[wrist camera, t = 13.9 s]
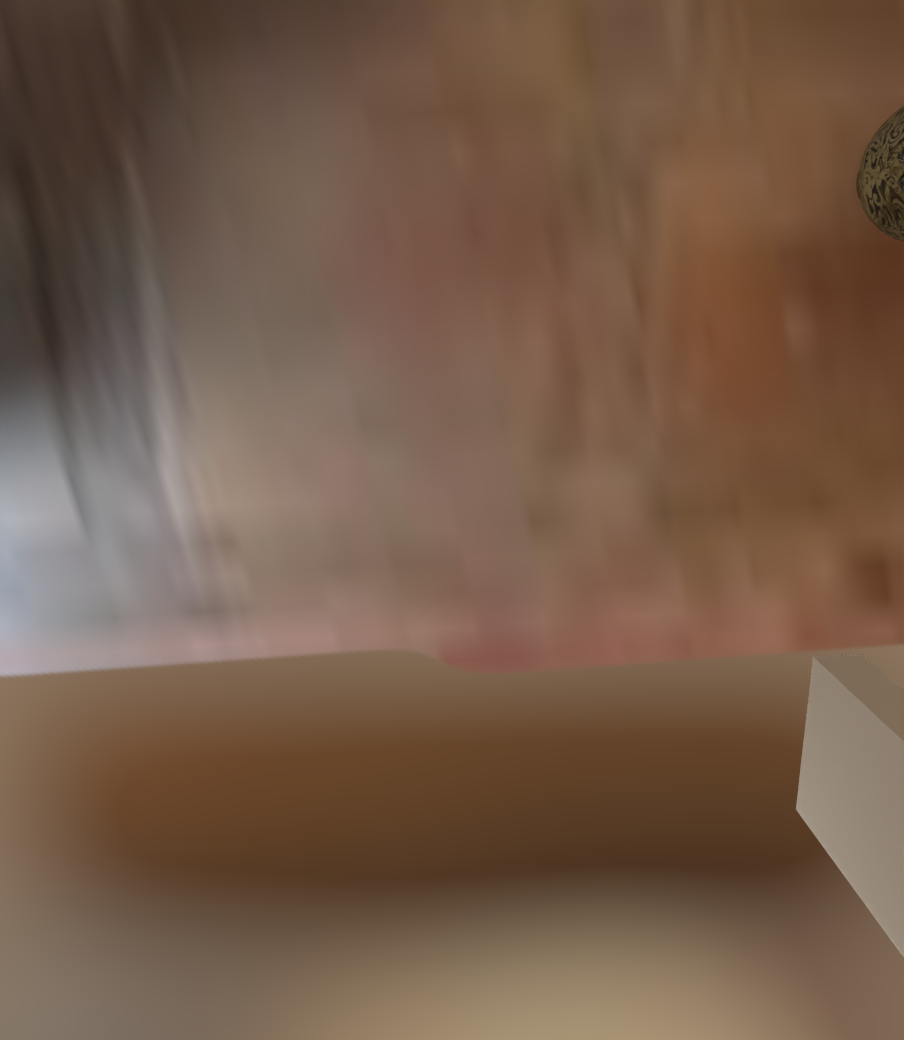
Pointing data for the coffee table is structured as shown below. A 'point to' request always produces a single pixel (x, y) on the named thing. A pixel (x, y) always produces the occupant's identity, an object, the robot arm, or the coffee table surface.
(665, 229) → the coffee table surface
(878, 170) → the cup
